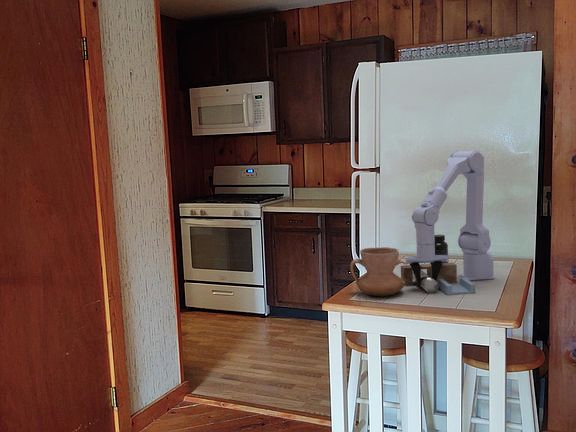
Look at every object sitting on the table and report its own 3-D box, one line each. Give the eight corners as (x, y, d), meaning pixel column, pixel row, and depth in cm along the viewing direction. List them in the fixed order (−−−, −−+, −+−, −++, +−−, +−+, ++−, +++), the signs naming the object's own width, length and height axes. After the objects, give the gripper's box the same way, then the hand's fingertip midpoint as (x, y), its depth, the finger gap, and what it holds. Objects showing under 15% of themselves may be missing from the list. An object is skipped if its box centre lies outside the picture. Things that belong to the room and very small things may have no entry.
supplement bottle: (450, 265, 211) (450, 234, 209) (445, 268, 205) (444, 237, 203) (433, 263, 214) (432, 233, 213) (427, 267, 209) (426, 236, 207)
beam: (452, 279, 189) (452, 262, 188) (456, 282, 185) (456, 264, 184) (401, 282, 188) (400, 265, 187) (404, 285, 184) (403, 268, 183)
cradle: (464, 285, 180) (464, 277, 179) (475, 293, 171) (475, 284, 171) (438, 287, 179) (438, 279, 179) (447, 294, 171) (447, 286, 170)
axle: (424, 280, 189) (423, 268, 188) (438, 292, 173) (438, 279, 173) (411, 281, 189) (411, 269, 188) (425, 294, 173) (424, 280, 172)
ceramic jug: (410, 288, 180) (409, 246, 179) (404, 300, 167) (402, 255, 165) (356, 286, 187) (355, 245, 185) (346, 298, 173) (344, 253, 171)
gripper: (443, 240, 181) (444, 280, 183) (400, 242, 181) (401, 282, 182) (450, 243, 174) (451, 285, 176) (405, 246, 174) (406, 288, 175)
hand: (426, 284), depth 179 cm, fingers closed on axle, 4 cm apart
